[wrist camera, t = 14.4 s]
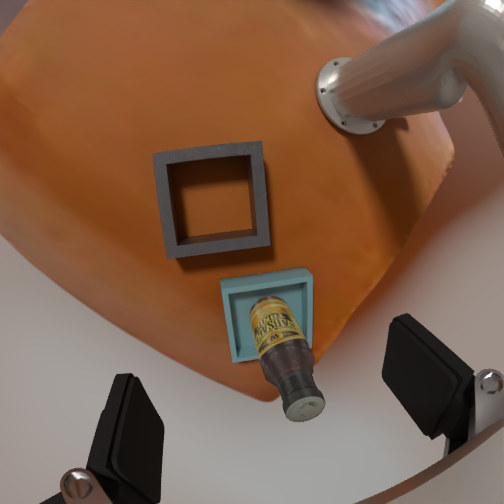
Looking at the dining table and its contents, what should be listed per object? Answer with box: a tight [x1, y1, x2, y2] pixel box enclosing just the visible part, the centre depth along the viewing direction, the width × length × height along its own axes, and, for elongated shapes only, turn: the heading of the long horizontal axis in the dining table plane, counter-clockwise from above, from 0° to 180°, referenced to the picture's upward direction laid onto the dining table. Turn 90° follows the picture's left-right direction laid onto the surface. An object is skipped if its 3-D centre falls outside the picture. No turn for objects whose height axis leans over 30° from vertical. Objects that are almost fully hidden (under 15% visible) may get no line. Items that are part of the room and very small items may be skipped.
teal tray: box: [220, 267, 313, 363], centre depth 41 cm, size 13×13×4 cm
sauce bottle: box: [249, 296, 325, 422], centre depth 32 cm, size 7×6×20 cm
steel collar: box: [153, 141, 270, 259], centre depth 35 cm, size 13×13×4 cm
